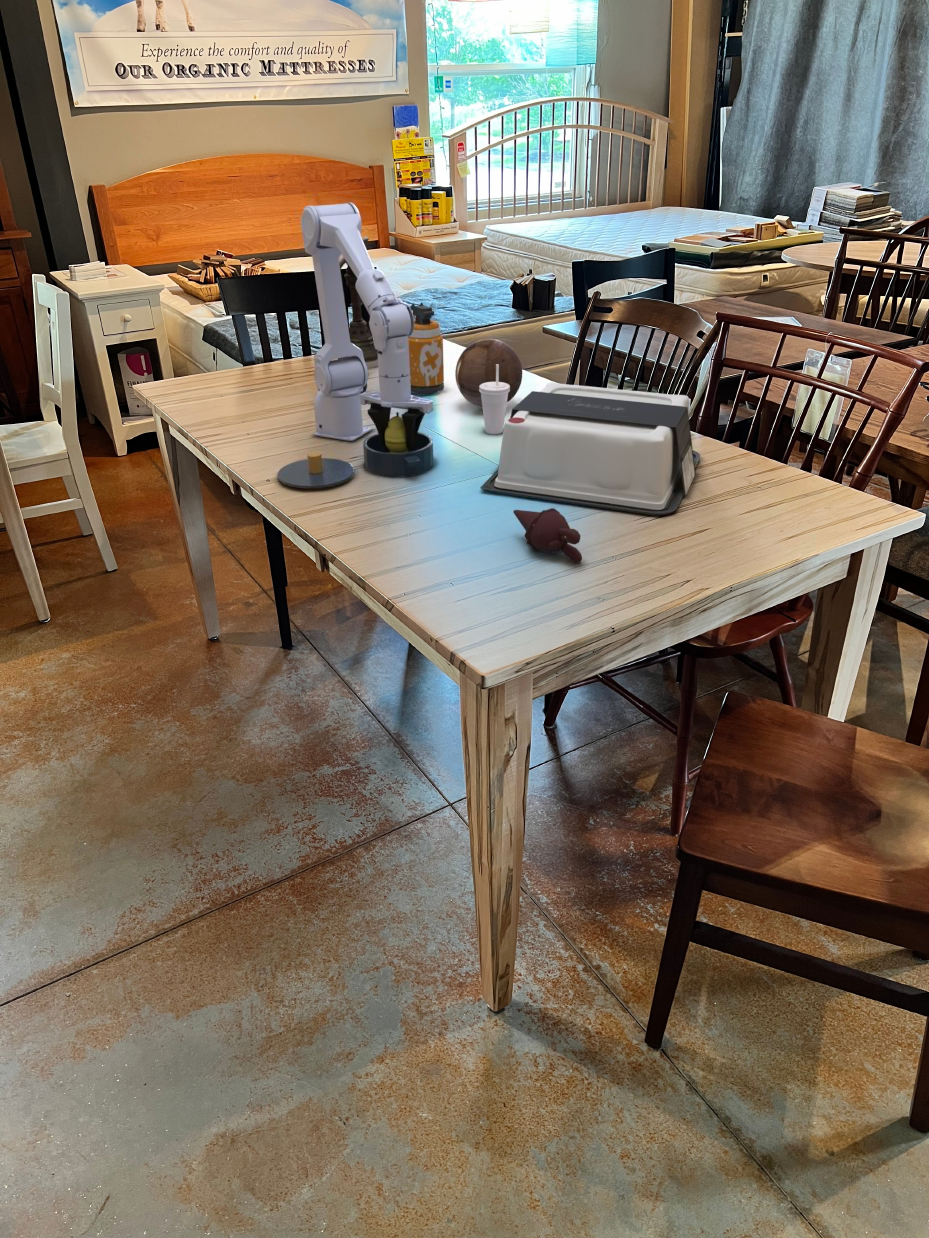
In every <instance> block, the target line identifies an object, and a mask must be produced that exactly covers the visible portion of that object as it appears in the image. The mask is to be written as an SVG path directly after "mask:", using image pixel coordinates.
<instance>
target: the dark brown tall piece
mask: <svg viewBox="0 0 929 1238" xmlns="http://www.w3.org/2000/svg"><path fill="white" fill-rule="evenodd" d="M361 238H362V240H363V242H364V245H365V246H366V244H367V243H368V242H369V240H370V239H369V237H368V236H362V237H361ZM345 264H346V266H347V267H346V269H345V271H346V273H345V274H344V276H343V277H344V279H345V280H346V281H345V285H346V287H349V291H350V304H349V305H350V307H351V315H352V320H351V321H350V322H349V324H348V329H349V336H350V342H351V343H352V344H354V345H355V346H357V347H358V348H360V349H361V350H362V353H363V357H364V361H365V363H366V366H367V369H370V368H378V353H377V349H375V346H374V340H373V336H372V333H371V330H370V328H369V326H368V322H366V321H365V320H364V319H363V313H362V305H363V302H362V299H361V297H360V295H359V294H358V292H357V290H356V281H357V279H358V278H357V277H356V275H355V274H354V272H353V271H352V269H351V268H350V266H349V264H348V263H347V261H346V260H345V258H344V257H343V255H342V254H341V255H340V257H339V265H340V271H341V270H342V268H343V267H344V265H345ZM344 358H350V357H343V358H337V360H338V359H344Z"/></svg>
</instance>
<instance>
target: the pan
mask: <svg viewBox="0 0 929 1238" xmlns="http://www.w3.org/2000/svg"><path fill="white" fill-rule="evenodd" d="M433 441H434V440H433V438H432V437H431V436H430V435H429V434H426V433H424V432H419V431H418V433H417V438H416V444H415V446H414V447H413V448H411V449H408V452H405V453H390V450H389V449H388V448H387V446H386V445H382V443H381V440H380V437H379V434H378V433H375V434H372V435H370V436H368V437H366V438H365V439H364V441H363V442H362V443H363V444H362V446H363V447H362V449H363V459H364V460H363V462H364V467H365V469H366V470H367V471H368V472H369V473H371V474H374V475H377V476H381V477H389V478H403V477H412V476H416V475H419V474H423V473H425V472H427V471H429V470H430V469H431V468H432V467H433V466H434V442H433Z"/></svg>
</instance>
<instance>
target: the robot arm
mask: <svg viewBox="0 0 929 1238" xmlns="http://www.w3.org/2000/svg"><path fill="white" fill-rule="evenodd" d="M362 228H363V225H362V217H361V214H360V211H359V209H358V208H357V206H356V205H355V204H354V202H351V201H350V202H346V203H335V204H326V205H325V204H324V205H306V206H305V207H304V208H303V211H302V214H301V217H300V229H301V235H302V241H303V246H304V252H305V254H308V255H310V256H311V258H312V259H311V260H312V264H313V265H312V266H313V271H314V276H315V284H316V291H317V297H318V304H319V310H320V317H321V324H322V331H323V337H324V338H323V339H324V344H323V345H322V347H321V348H320V349H319V350H318V351H317V352H316V353H315V354H314V356H313V360H314V361H313V362H314V368H313V369H314V370H313V376H314V382H315V385H316V387H317V390H318V389H319V390H320V391H319V390H318V391H317V392H316V394H315V397H314V400H313V409H314V410H313V411H314V420H315V430H316V432H314V436H318V437H323V438H329V439H335V440H340V441H341V440H342V441H349V442H354V441H355V440H357V439H359V438H361V437H362V436H364V435H365V434H367V433H369V432H371V431H372V428H371V427H367V426H364V425H363V424H364V423H363V410H362V409H363V408H362V406H366V405H369V408H368V409H367V410H366V411H367V415H368V416H369V418H370V419H371V422H373V425H374V426H375V429H376V431H377V434H379V437H380V440H381V443H382V445H386V443H385V430H386V428H387V427H388V422H389V420H390V419H391V413H392V408H393V409H398V410H399V409H400V410H406V411H405V412H404V413H402V414H401V417H402V419H403V422H404V426H405V432H406V445H407V449H411V448H413V447H414V446H415V444H416V438H417V433H418V432H419V430H420V426H421V424H422V421H423V419H424V417H425V415H429V414H430V413H432V412H434V401H433V400H431V399H425V398H422V397H419V396H416V395H412V392H411V385H410V362H409V339H408V336H411V335H412V333H413V331H414V321H415V319H414V317H413V310H412V311H411V308H410V307H411V305H409V304H408V303H407V302H405V301H403V300H402V299H401V298H398V297H397V296H396V293H395V291H394V290H393V288H392V286H391V284H390V282H389V281H388V279H387V277H386V274H385V273H384V272H383V271H382V270H380V269H376V268H375V266H374V264H373V261H372V259H371V256H370V253H369V252H368V250H367V247H366V244H365V245H364V242H363V240H362V238H363V237H362V231H363V229H362ZM341 254H342V255H343V257H344V258H345V260H346V261H347V263H348V264H349V266H350V268H351V269H352V271H353V272H354V274H355V275H356V277H357V278H358V279H357V281H356V290H357V292H358V294H359V295H360V298H361V302H362V304H363V305H364V307H365V309H366V311H367V313H368V315H369V321H368V327H369V331H370V334H371V336H373V340H374V346H375V349H377V353H378V366H377V368H378V383H379V392H372V391H371V392H369V391H366V392H364V393H362V394H360V392H361V391H363V387H364V386H365V385H366V383H367V384H368V380H369V370H368V369H369V368H367V366H366V363H365V361H364V357H363V353H362V350H361V349H360V348H358V347H357V346H355V345H354V344H352V343H351V342H350V336H349V324H348V317H347V309H346V302H345V293H344V287H343V279H342V273H341V270H340V265H339V257H340V255H341ZM343 357H350V358H344V359H338V358H343Z"/></svg>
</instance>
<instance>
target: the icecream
mask: <svg viewBox="0 0 929 1238" xmlns="http://www.w3.org/2000/svg"><path fill="white" fill-rule="evenodd" d="M512 512H513V515H514V516H515V517H516V519H517V520H518V522H519V523H520V525H521V527H523V530H525V533H524V538H525V540H526V545H528V546H529V547H530V548H531V549H532V550H534V551H536V550H538V551H540V552H542V553H557V552H559V551H561V553H562V554H563V555H564V556H566V558H568V560H570V561H571V562H573V563H574V564H579V563H581V562H582V560H583V556H582V553H581V552H580V551H579V549H578V548H577V547H575V546H576V545H578V543H580V540H581V534H580V533H579V532H580V531H578V530H577V529H576V528H571V527H570V525H569V523H568V521H567V519H566V517H565V516H564V515H563V514H561V513H560V511H559V510H557V509H556V508H553V507H552V508H548V509H543V510H541V511H532V510H522V509H514V510H513V511H512ZM573 545H575V546H573Z"/></svg>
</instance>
